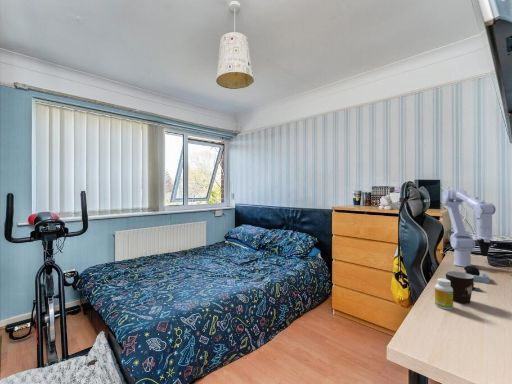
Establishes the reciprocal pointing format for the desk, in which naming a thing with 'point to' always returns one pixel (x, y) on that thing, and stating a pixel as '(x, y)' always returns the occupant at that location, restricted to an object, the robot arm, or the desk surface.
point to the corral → (480, 277)
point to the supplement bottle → (443, 294)
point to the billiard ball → (471, 270)
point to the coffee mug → (460, 286)
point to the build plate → (476, 289)
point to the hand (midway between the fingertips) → (484, 254)
